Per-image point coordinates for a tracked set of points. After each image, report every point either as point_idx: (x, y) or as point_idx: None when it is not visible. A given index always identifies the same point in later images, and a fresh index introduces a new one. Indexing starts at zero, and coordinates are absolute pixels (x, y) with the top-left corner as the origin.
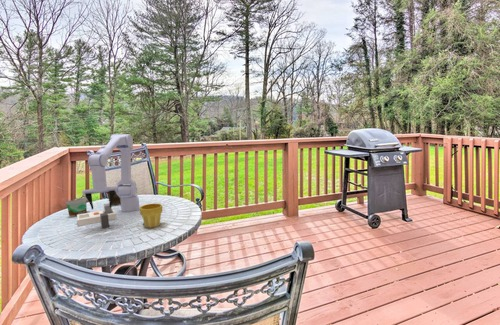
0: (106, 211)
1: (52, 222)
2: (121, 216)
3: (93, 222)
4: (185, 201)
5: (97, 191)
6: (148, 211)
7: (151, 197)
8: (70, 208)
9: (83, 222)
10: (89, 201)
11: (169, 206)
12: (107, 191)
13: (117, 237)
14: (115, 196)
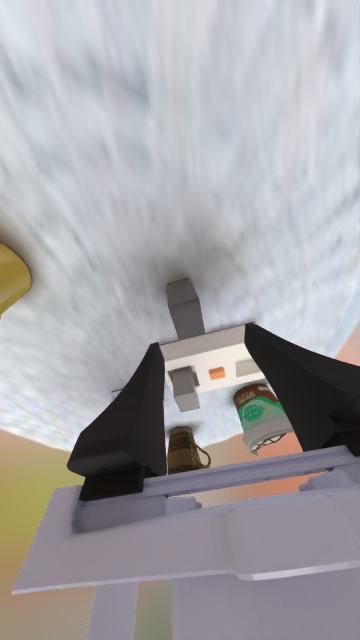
0: (188, 375)
1: None
2: None
3: (219, 336)
4: (9, 428)
5: (328, 501)
6: None
7: None
8: (279, 407)
9: None
10: (308, 352)
11: (39, 408)
12: (165, 484)
13: (106, 147)
14: (180, 451)
